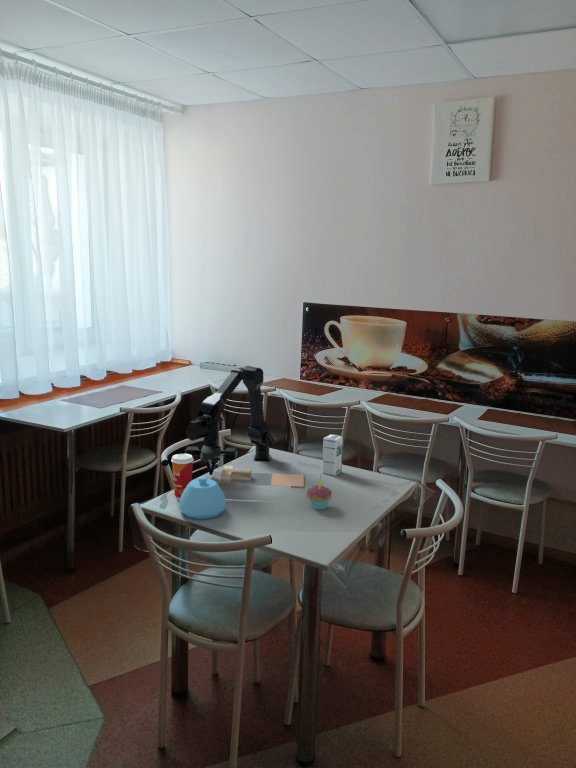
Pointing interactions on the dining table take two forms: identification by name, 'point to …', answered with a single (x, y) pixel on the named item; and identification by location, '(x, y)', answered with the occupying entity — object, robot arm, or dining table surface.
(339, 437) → the syrup box
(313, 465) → the dining table surface
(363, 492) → the dining table surface
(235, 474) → the t block
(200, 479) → the blue dome lid
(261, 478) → the push board
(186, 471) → the paper cup
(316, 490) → the cupcake
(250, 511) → the dining table surface
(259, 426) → the robot arm
